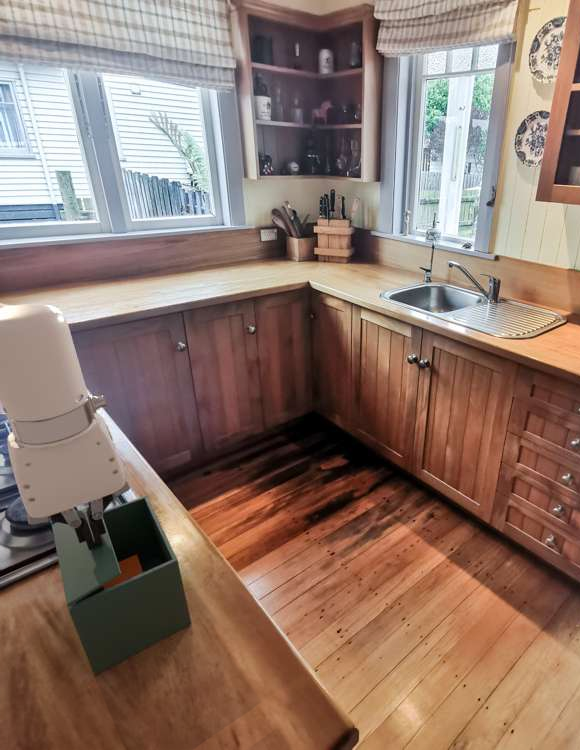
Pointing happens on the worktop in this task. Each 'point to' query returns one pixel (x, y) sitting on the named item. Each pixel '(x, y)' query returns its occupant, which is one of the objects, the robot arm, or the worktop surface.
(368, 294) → the worktop surface
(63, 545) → the flap
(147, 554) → the green lidded box
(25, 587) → the worktop surface
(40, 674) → the worktop surface
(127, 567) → the orange rectangular block
